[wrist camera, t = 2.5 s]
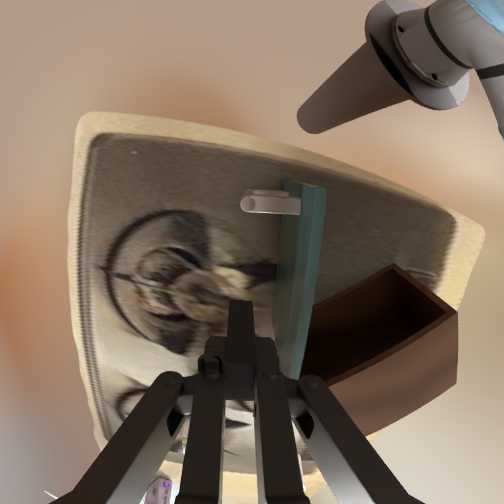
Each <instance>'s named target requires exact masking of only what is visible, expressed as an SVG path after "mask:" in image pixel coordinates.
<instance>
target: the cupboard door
mask: <svg viewBox="0 0 504 504" xmlns="http://www.w3.org/2000/svg"><path fill="white" fill-rule="evenodd" d="M326 197H327V188H323V187H320V186H316V185H312V184H308V183H304V182H300V181H296V180H292V179H284V184H283V191H277V190H260V189H245V190H243V191H242V193H241V201H240V206H241V208H242V210H244V211H246V212H257V213H276V214H281V225H280V238H279V250H278V261H277V273H276V284H275V294H274V304H273V314H272V322H273V327H274V333H275V339H276V344H277V350H278V356H279V362H280V367H281V372H282V374H283V375H284V376H286V377H288V378H291V379H296V380H299V376H300V371H301V366H302V361H303V356H304V351H305V346H306V341H307V335H308V330H309V324H310V319H311V313H312V307H313V301H314V294H315V288H316V281H317V274H318V267H319V260H320V252H321V244H322V236H323V227H324V218H325V208H326Z"/></svg>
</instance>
